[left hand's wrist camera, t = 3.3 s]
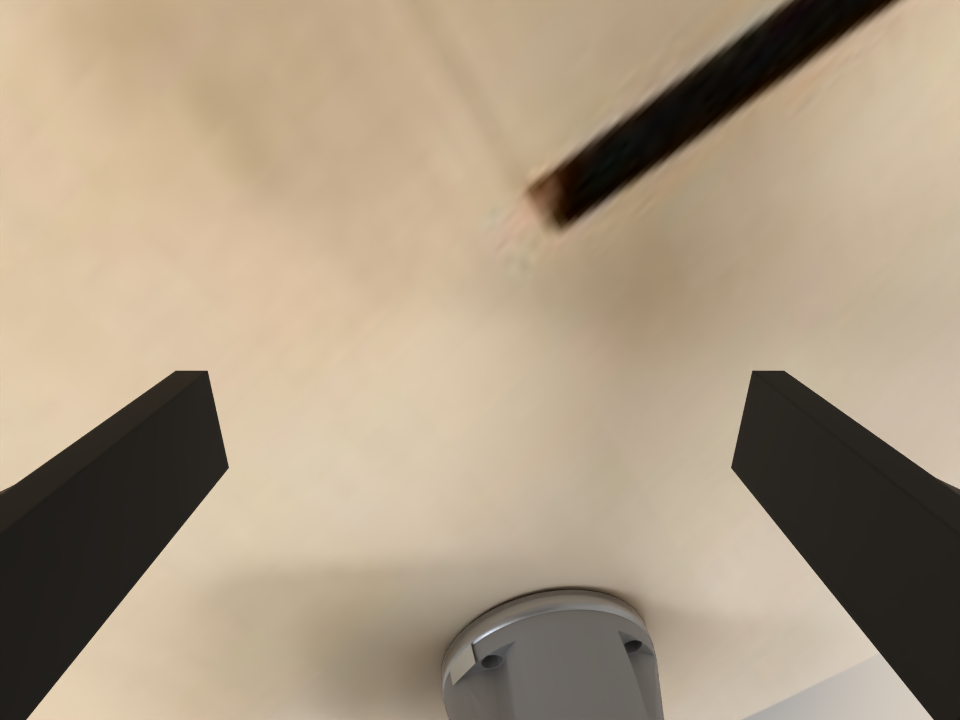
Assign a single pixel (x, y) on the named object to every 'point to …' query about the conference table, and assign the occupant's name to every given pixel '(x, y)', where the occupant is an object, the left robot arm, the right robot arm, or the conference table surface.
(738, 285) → the conference table surface
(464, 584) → the conference table surface
